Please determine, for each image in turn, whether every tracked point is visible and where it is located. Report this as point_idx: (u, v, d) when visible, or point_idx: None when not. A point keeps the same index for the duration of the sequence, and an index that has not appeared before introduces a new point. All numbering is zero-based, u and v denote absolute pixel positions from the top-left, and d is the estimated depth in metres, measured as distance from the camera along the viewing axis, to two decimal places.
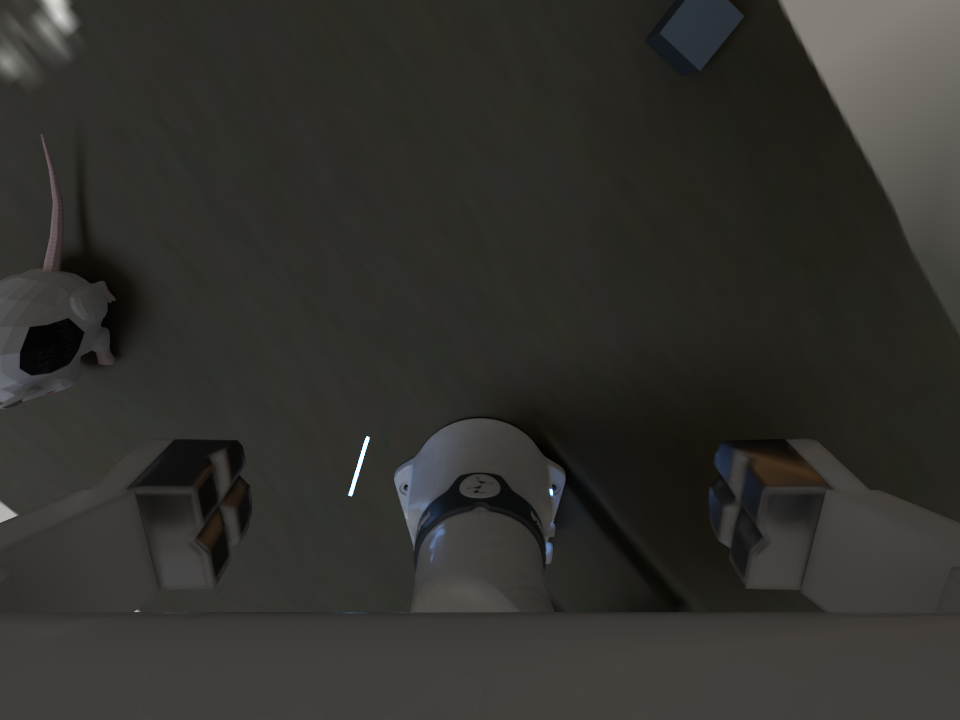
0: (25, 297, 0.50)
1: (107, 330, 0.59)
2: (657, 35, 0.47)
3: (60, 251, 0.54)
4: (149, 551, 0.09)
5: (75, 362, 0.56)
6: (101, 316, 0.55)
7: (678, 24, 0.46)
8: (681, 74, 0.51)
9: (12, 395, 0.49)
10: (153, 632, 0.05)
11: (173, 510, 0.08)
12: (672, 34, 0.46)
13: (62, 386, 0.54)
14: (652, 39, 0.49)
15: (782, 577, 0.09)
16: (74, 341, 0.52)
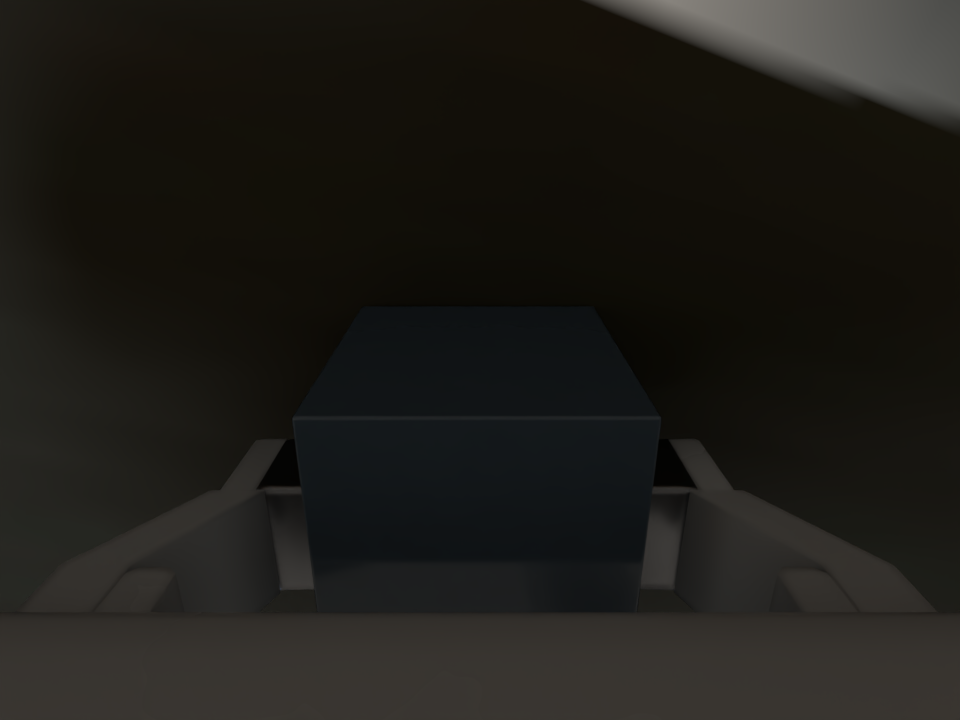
0: None
1: None
2: None
3: None
4: (273, 551, 0.09)
5: None
6: None
7: None
8: None
9: None
10: (153, 632, 0.05)
11: (301, 510, 0.08)
12: None
13: None
14: None
15: (655, 577, 0.09)
16: None
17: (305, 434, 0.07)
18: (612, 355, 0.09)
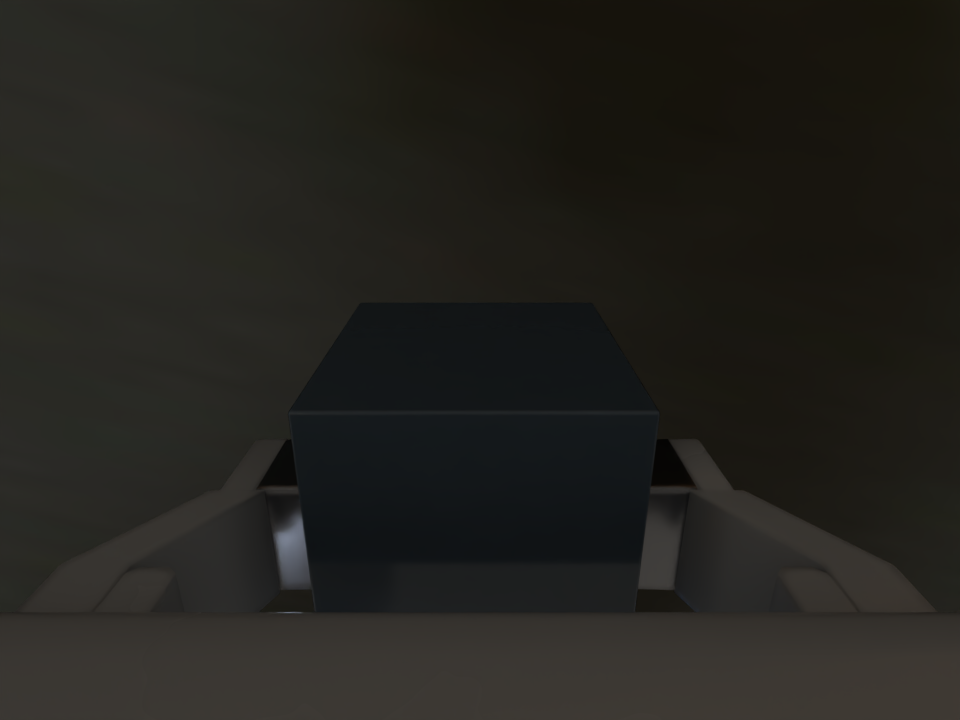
0: None
1: None
2: None
3: None
4: (273, 551, 0.09)
5: None
6: None
7: None
8: None
9: None
10: (153, 632, 0.05)
11: None
12: None
13: None
14: None
15: (655, 577, 0.09)
16: None
17: (302, 429, 0.07)
18: (610, 350, 0.09)
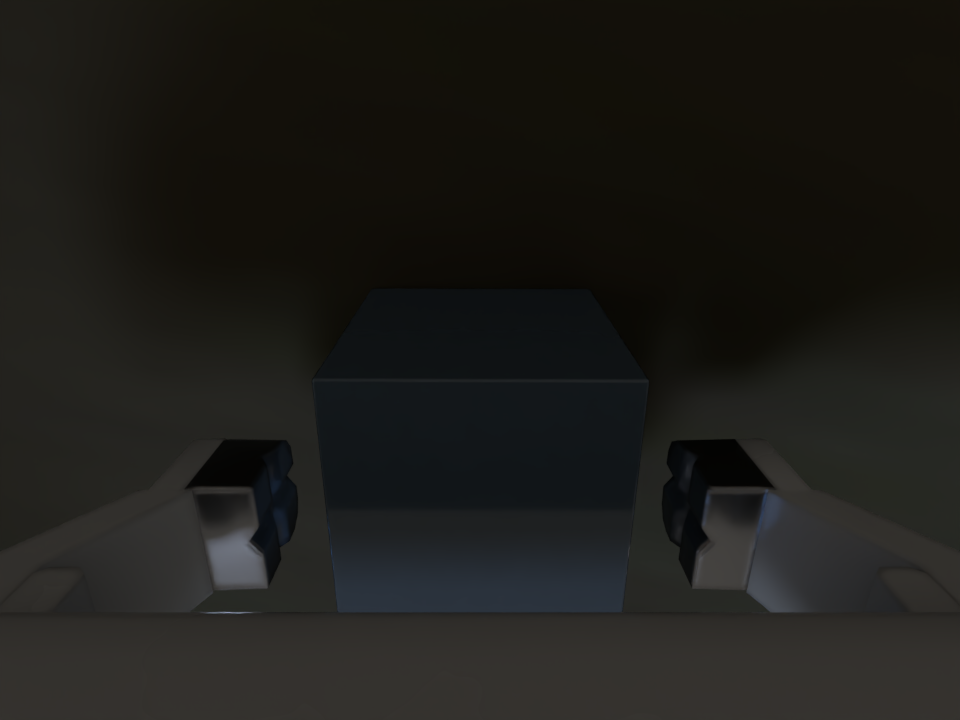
0: None
1: None
2: None
3: None
4: (204, 551, 0.09)
5: None
6: None
7: (381, 590, 0.09)
8: None
9: None
10: (153, 632, 0.05)
11: (230, 510, 0.08)
12: None
13: None
14: None
15: (728, 577, 0.09)
16: None
17: (325, 395, 0.08)
18: (606, 329, 0.10)
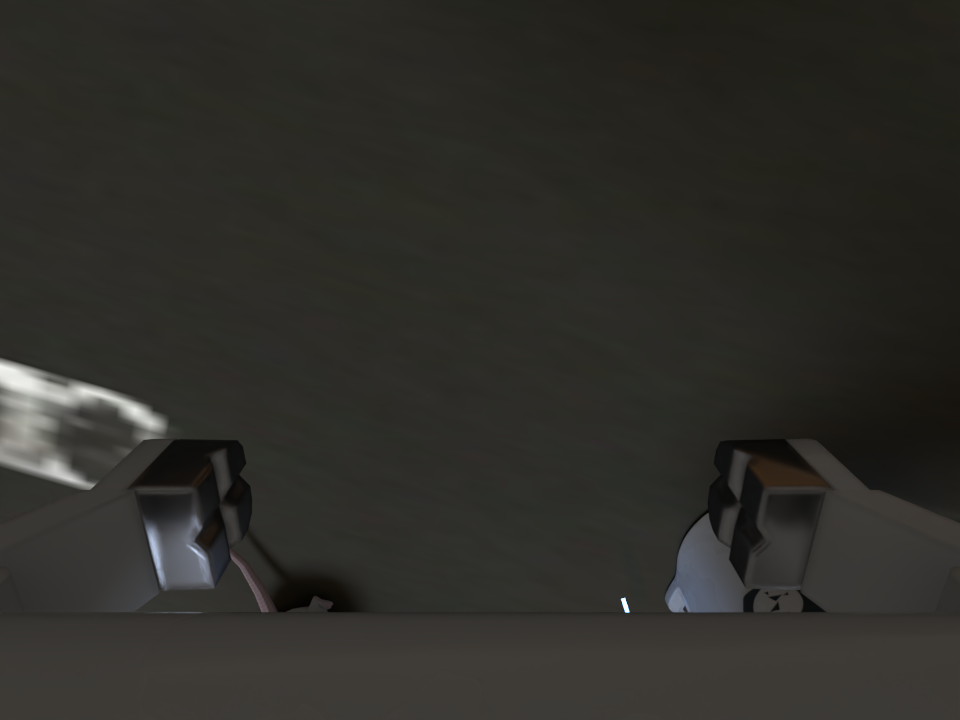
0: None
1: None
2: None
3: (269, 600, 0.55)
4: (149, 551, 0.09)
5: None
6: None
7: None
8: None
9: None
10: (153, 632, 0.05)
11: (173, 510, 0.08)
12: None
13: None
14: None
15: (782, 577, 0.09)
16: None
17: None
18: None
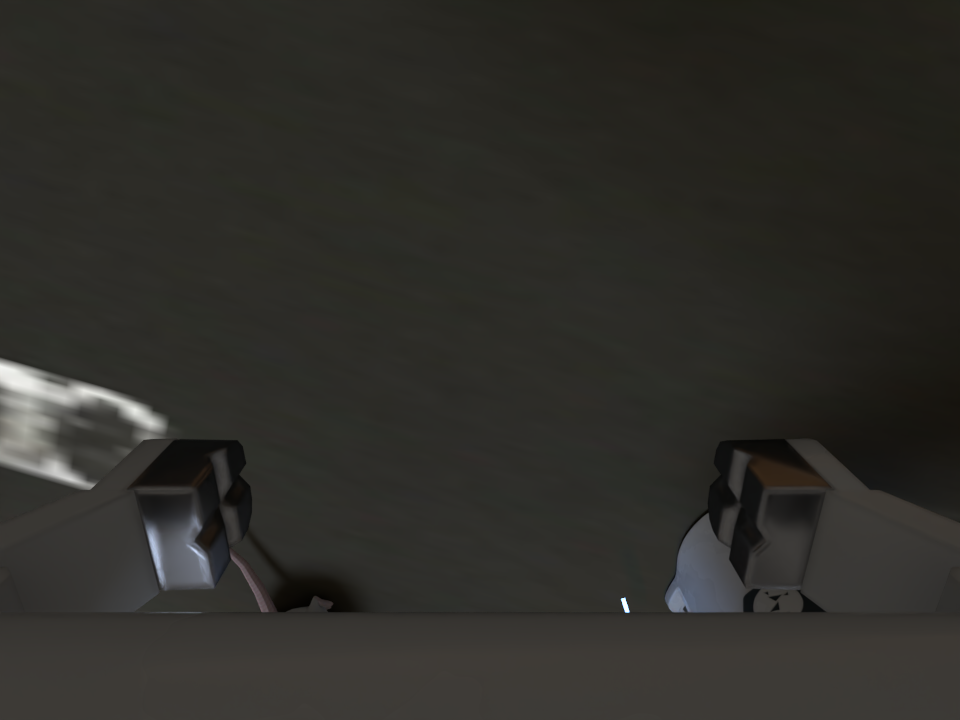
0: None
1: None
2: None
3: (269, 600, 0.55)
4: (149, 551, 0.09)
5: None
6: None
7: None
8: None
9: None
10: (153, 632, 0.05)
11: (173, 510, 0.08)
12: None
13: None
14: None
15: (782, 577, 0.09)
16: None
17: None
18: None
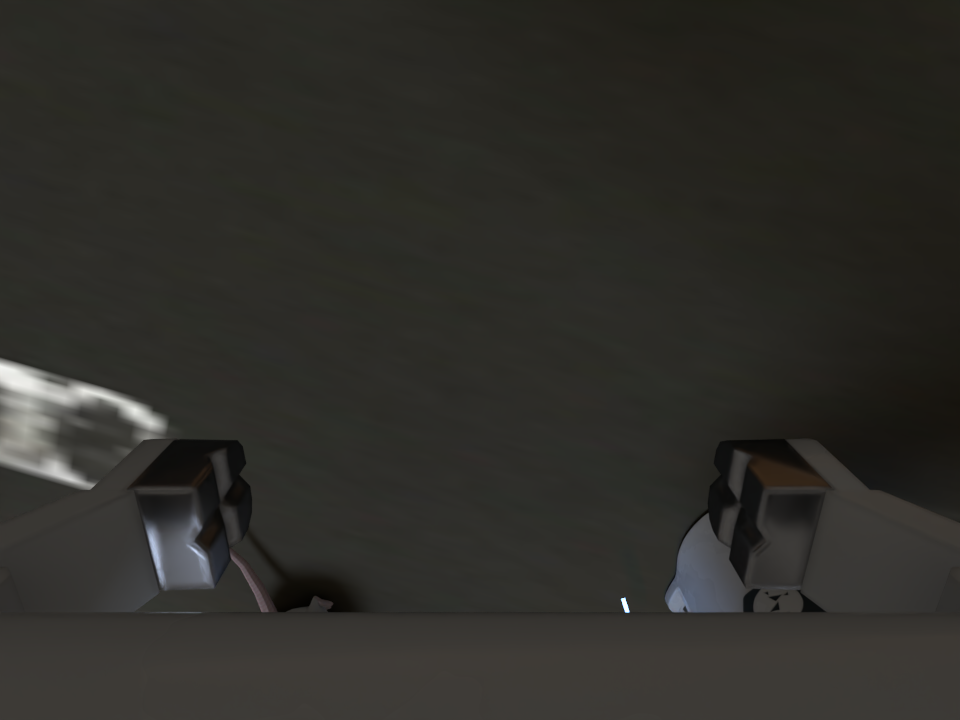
0: None
1: None
2: None
3: (269, 600, 0.55)
4: (149, 551, 0.09)
5: None
6: None
7: None
8: None
9: None
10: (153, 632, 0.05)
11: (173, 510, 0.08)
12: None
13: None
14: None
15: (782, 577, 0.09)
16: None
17: None
18: None
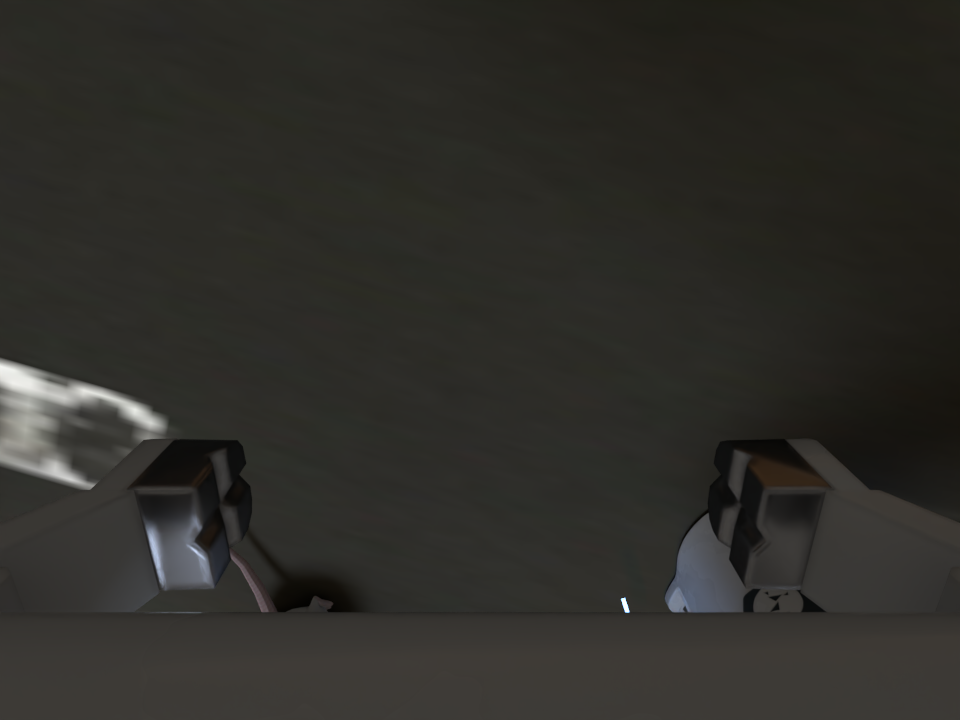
0: None
1: None
2: None
3: (269, 600, 0.55)
4: (149, 551, 0.09)
5: None
6: None
7: None
8: None
9: None
10: (153, 632, 0.05)
11: (173, 510, 0.08)
12: None
13: None
14: None
15: (782, 577, 0.09)
16: None
17: None
18: None
